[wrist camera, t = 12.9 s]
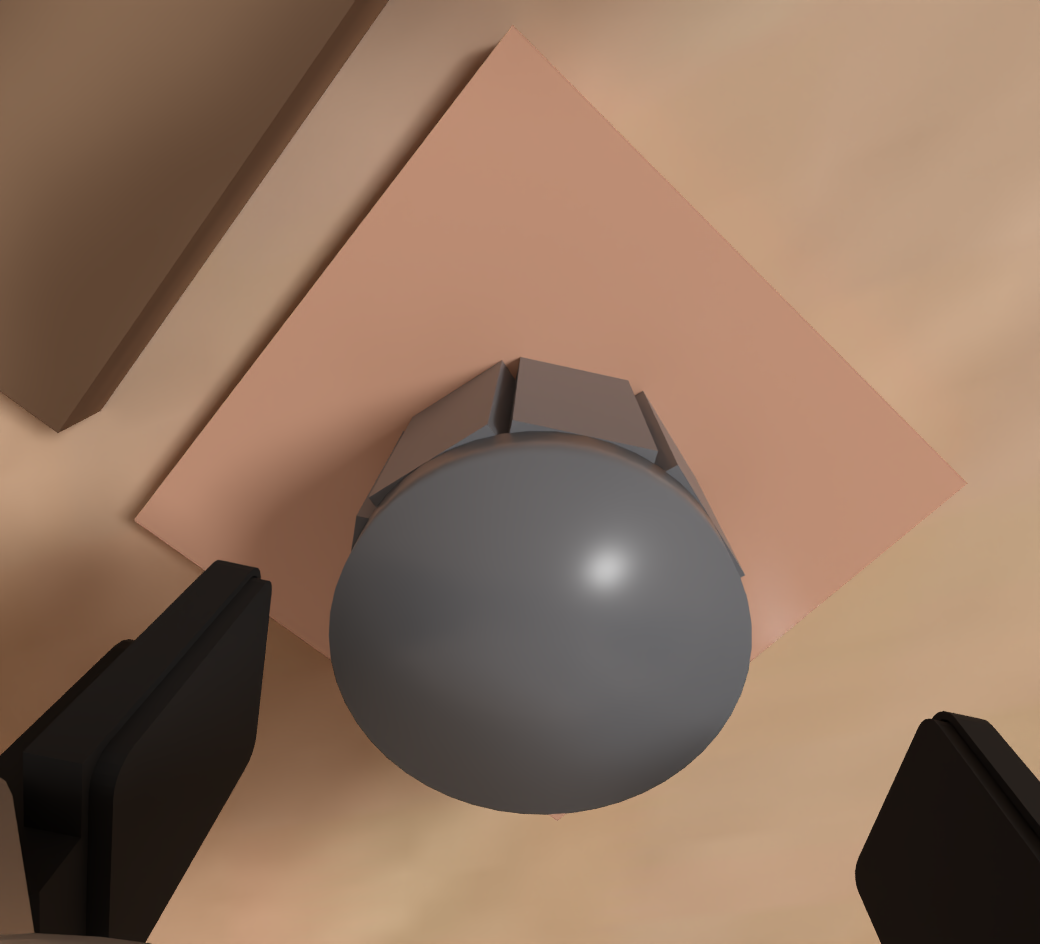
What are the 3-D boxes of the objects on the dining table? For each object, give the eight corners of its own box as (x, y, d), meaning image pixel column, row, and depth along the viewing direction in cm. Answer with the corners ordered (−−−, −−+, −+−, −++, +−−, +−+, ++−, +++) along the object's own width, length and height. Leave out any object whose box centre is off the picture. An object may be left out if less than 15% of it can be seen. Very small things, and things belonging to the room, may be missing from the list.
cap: (642, 658, 17) (681, 845, 12) (374, 604, 16) (307, 774, 12) (726, 401, 14) (814, 508, 10) (419, 334, 14) (358, 410, 10)
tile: (942, 465, 16) (967, 483, 15) (556, 789, 19) (557, 820, 18) (514, 35, 13) (512, 25, 12) (156, 500, 17) (133, 520, 16)
